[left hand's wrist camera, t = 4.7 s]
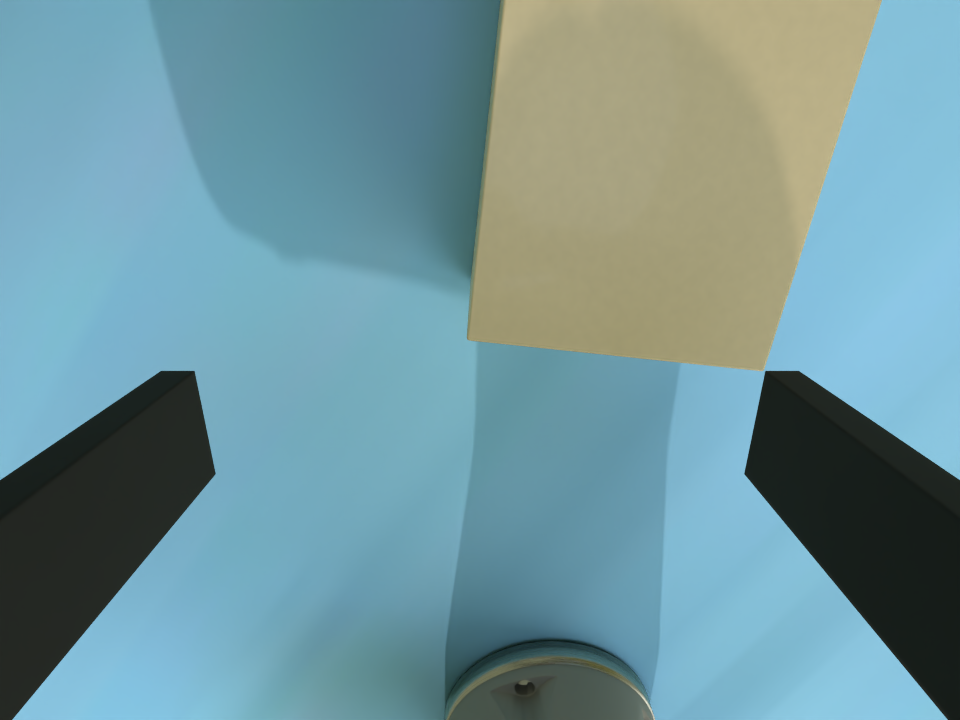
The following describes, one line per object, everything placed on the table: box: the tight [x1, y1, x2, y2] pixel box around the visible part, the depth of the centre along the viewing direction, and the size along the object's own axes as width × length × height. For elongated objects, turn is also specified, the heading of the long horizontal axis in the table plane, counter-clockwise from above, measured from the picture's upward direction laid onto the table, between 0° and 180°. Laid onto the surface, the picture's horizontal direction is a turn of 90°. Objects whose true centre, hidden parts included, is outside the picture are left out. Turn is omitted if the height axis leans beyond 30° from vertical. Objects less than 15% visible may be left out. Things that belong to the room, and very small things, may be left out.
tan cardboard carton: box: [467, 0, 882, 371], centre depth 21 cm, size 20×11×10 cm, turn 174°
